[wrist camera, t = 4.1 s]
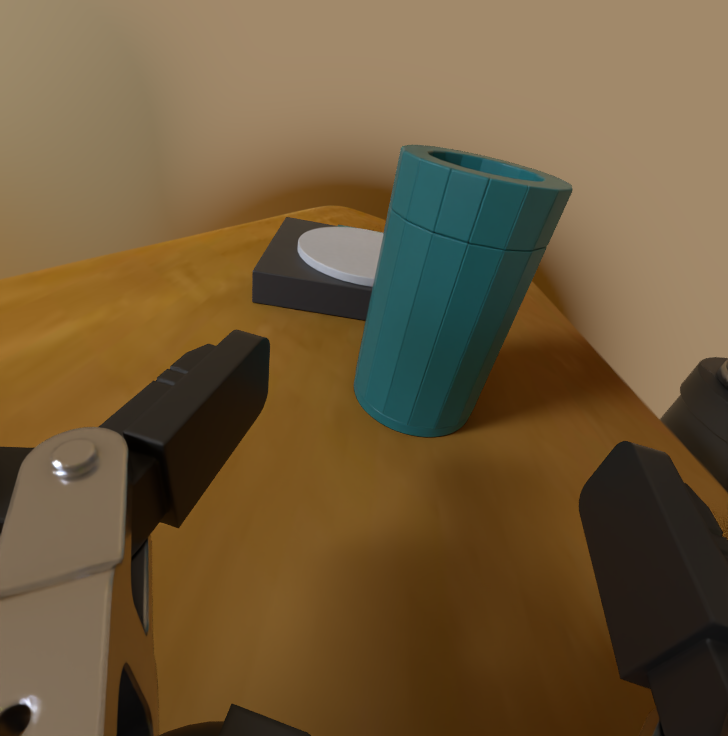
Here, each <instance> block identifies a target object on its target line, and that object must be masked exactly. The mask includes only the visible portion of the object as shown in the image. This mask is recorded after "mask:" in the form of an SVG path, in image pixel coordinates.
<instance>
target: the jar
mask: <svg viewBox="0 0 728 736" xmlns="http://www.w3.org/2000/svg"><path fill="white" fill-rule="evenodd" d="M571 193H572V185H571V184H569V183H567V182H565V181H563V180H561V179H559V178H557V177H555V176H552V175H549V174H547V173H544V172H541V171H538V170H535V169H532V168H528V167H525V166H521V165H518V164H514V163H510V162H507V161H503V160H499V159H495V158H491V157H487V156H482V155H478V154H473V153H468V152H463V151H458V150H453V149H447V148H440V147H434V146H423V145H407V146H402V148H401V151H400V156H399V161H398V166H397V171H396V175H395V180H394V185H393V190H392V195H391V203H390V205H389V209H388V215H387V219H386V224H385V229H384V234H383V239H382V244H381V249H380V254H379V259H378V264H377V268H376V273H375V278H374V283H373V288H372V293H371V298H370V303H369V308H368V313H367V318H366V323H365V327H364V332H363V337H362V342H361V347H360V352H359V357H358V362H357V367H356V376H355V381H354V391H355V395H356V397H357V400H358V402H359V403H360V405H361V406H362V407H363V409H364V410H365V411H366V412H367V413H368V414H369V415H370V416H371V417H373V418H374V419H375V420H377V421H378V422H380V423H381V424H383V425H385V426H387V427H389V428H391V429H393V430H396V431H398V432H401V433H405V434H408V435H413V436H420V437H437V436H444V435H447V434H450V433H453V432H455V431H457V430H458V429H460V428H461V427H462V426H463V425H464V424H465V423H466V421H467V420H468V418H469V416H470V415H471V413H472V411H473V409H474V406H475V404H476V402H477V400H478V398H479V395H480V393H481V391H482V389H483V387H484V384H485V382H486V380H487V378H488V376H489V373H490V371H491V369H492V367H493V365H494V362H495V360H496V358H497V356H498V354H499V351H500V349H501V347H502V345H503V343H504V340H505V338H506V336H507V334H508V332H509V329H510V327H511V325H512V323H513V321H514V318H515V316H516V314H517V312H518V310H519V307H520V305H521V303H522V301H523V299H524V296H525V294H526V292H527V290H528V288H529V285H530V283H531V281H532V279H533V277H534V274H535V272H536V270H537V268H538V266H539V263H540V261H541V259H542V257H543V254H544V252H545V250H546V246H547V245H548V243H549V241H550V239H551V237H552V235H553V232H554V230H555V228H556V226H557V224H558V221H559V219H560V217H561V215H562V213H563V210H564V208H565V206H566V204H567V201H568V199H569V197H570V195H571Z"/></svg>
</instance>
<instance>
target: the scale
mask: <svg viewBox="0 0 728 736" xmlns="http://www.w3.org/2000/svg"><path fill="white" fill-rule="evenodd" d="M383 234H384V233H381V232H376V231H371V230H365V229H359V228H354V227H348V226H343V225H338V226H333V225H328V224H322V223H317V222H312V221H306V220H301V219H295V218H290V217H286V218H285V220H284V222H283V223H282V225H281V226H280V228H279V230H278V231H277V233H276V234H275V236H274V238H273V239H272V241H271V243H270V244H269V246H268V247H267V249H266V251H265V252H264V254H263V255H262V257H261V259H260V260H259V262H258V263H257V265H256V267H255V268H254V270H253V287H252V301H253V302H255V303H261V304H267V305H274V306H280V307H286V308H292V309H298V310H304V311H311V312H317V313H323V314H329V315H335V316H342V317H348V318H354V319H360V320H366V318H367V313H368V308H369V303H370V298H371V293H372V288H373V283H374V278H375V273H376V268H377V264H378V259H379V254H380V249H381V244H382V239H383Z"/></svg>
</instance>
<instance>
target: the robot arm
mask: <svg viewBox="0 0 728 736" xmlns="http://www.w3.org/2000/svg"><path fill="white" fill-rule="evenodd" d="M269 357H270V343H269V340H268V339H267V338H264V337H261V336H258V335H254V334H251V333H247V332H244V331H240V330H234V331H232V332H231V333H230V334H229V335H228V336H227V337H226V338H224V339H223V340H222V341H221V342H220V343H219V344H218V345H217V346H214V345H211V344H206V345H204V346H202V347H199V348H197V349H194V350H192V351H189V352H187V353H186V354H184V355H183V356H182V357H181V358H180V359H178V360H177V361H176V362H175V363H174V364H173V365H171V366H170V369H167V370H165V371H164V372H163V373H162V374H161V375H160V376H158V377H157V380H156V381H152V382H151V383H150V384H149V385H148V386H147V387H145V388H144V389H143V390H142V391H141V392H139V393H138V394H137V395H136V396H135V397H134V398H132V399H131V400H130V401H129V402H128V403H126V404H125V405H124V406H123V407H122V408H120V409H119V410H118V411H117V412H116V413H115V414H113V415H112V416H111V417H110V418H109V419H107V420H106V421H105V422H104V423H103V424H102V425H100V426H99V427H86V428H78V429H73V430H69V431H66V432H63V433H60V434H58V435H55V436H53V437H51V438H49V439H47V440H45V441H44V442H42V443H41V444H39V445H38V446H37V447H35V448H21V447H0V736H311V735H310V734H308V733H307V732H304V731H302V730H299V729H297V728H294V727H291V726H289V725H286V724H284V723H281V722H279V721H276V720H273V719H271V718H268V717H266V716H263V715H260V714H258V713H255V712H253V711H250V710H247V709H245V708H242V707H240V706H237V705H235V704H231V706H230V709H229V711H228V714H227V716H226V718H225V721H224V722H204V723H198V724H192V725H187V726H184V727H181V728H178V729H174V730H171V731H168V732H166V733H163V734H161V735H159V698H158V680H157V669H156V661H155V655H154V644H153V596H152V541H151V535H150V534H151V532H152V531H153V530H154V529H155V527H156V526H157V525H158V523H159V522H162V523H165V524H168V525H171V526H173V527H176V528H179V527H180V526H181V524H182V523H183V521H184V520H185V519H186V517H187V516H188V514H189V513H190V512H191V510H192V509H193V507H194V506H195V505H196V503H197V502H198V500H199V499H200V498H201V496H202V495H203V493H204V492H205V491H206V489H207V488H208V486H209V485H210V483H211V482H212V481H213V479H214V478H215V476H216V475H217V474H218V472H219V471H220V469H221V468H222V467H223V465H224V464H225V462H226V461H227V460H228V458H229V457H230V455H231V454H232V452H233V451H234V450H235V448H236V447H237V445H238V444H239V443H240V441H241V440H242V438H243V437H244V436H245V434H246V433H247V431H248V430H249V429H250V427H251V426H252V424H253V423H254V422H255V420H256V419H257V417H258V416H259V414H260V413H261V411H262V409H263V407H264V404H265V401H266V398H267V394H268V381H269ZM717 376H718V378H719V380H720V382H721V383H722V385H723V386H724V387H725V388H726V389H727V390H728V360H726V361H725V362H724V364H723V365H722V366H721V367H720V368H719V369H718V371H717ZM579 512H580V517H581V521H582V525H583V529H584V533H585V537H586V541H587V545H588V549H589V553H590V557H591V561H592V565H593V569H594V573H595V577H596V581H597V585H598V590H599V594H600V598H601V602H602V606H603V610H604V614H605V618H606V622H607V626H608V630H609V634H610V638H611V642H612V646H613V650H614V654H615V658H616V662H617V666H618V670H619V674H620V679H623V680H626V681H629V682H631V683H634V684H637V685H640V686H643V687H646V688H649V689H651V691H652V695H653V698H654V702H655V705H656V708H655V709H654V710H652V711H651V712H650V713H649V715H648V716H647V718H646V720H645V723H644V725H643V727H642V729H641V732H640V734H639V736H728V540H727V539H726V538H725V537H722V533H723V532H722V530H721V528H720V526H719V525H718V523H717V521H716V519H715V518H714V516H713V514H712V512H711V511H710V509H709V507H708V506H707V505H706V504H705V503H704V502H703V501H702V500H701V499H700V498H699V497H698V496H697V495H696V493H695V492H694V491H693V490H692V489H691V488H690V487H689V486H688V485H687V484H686V483H684V482H683V480H682V479H681V477H680V475H679V473H678V471H677V469H676V468H675V466H674V464H673V462H672V460H671V458H670V457H669V456H668V455H667V454H666V453H665V452H662V451H659V450H655V449H652V448H648V447H645V446H642V445H638V444H635V443H631V442H628V441H623V442H620V443H619V444H617V445H616V446H615V447H614V448H613V450H612V451H611V452H610V453H609V455H608V456H607V457H606V458H605V460H604V461H603V462H602V463H601V465H600V466H599V467H598V468H597V470H596V471H595V472H594V473H593V475H592V476H591V477H590V478H589V480H588V481H587V482H586V484H585V485H584V487H583V489H582V491H581V494H580V499H579Z"/></svg>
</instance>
